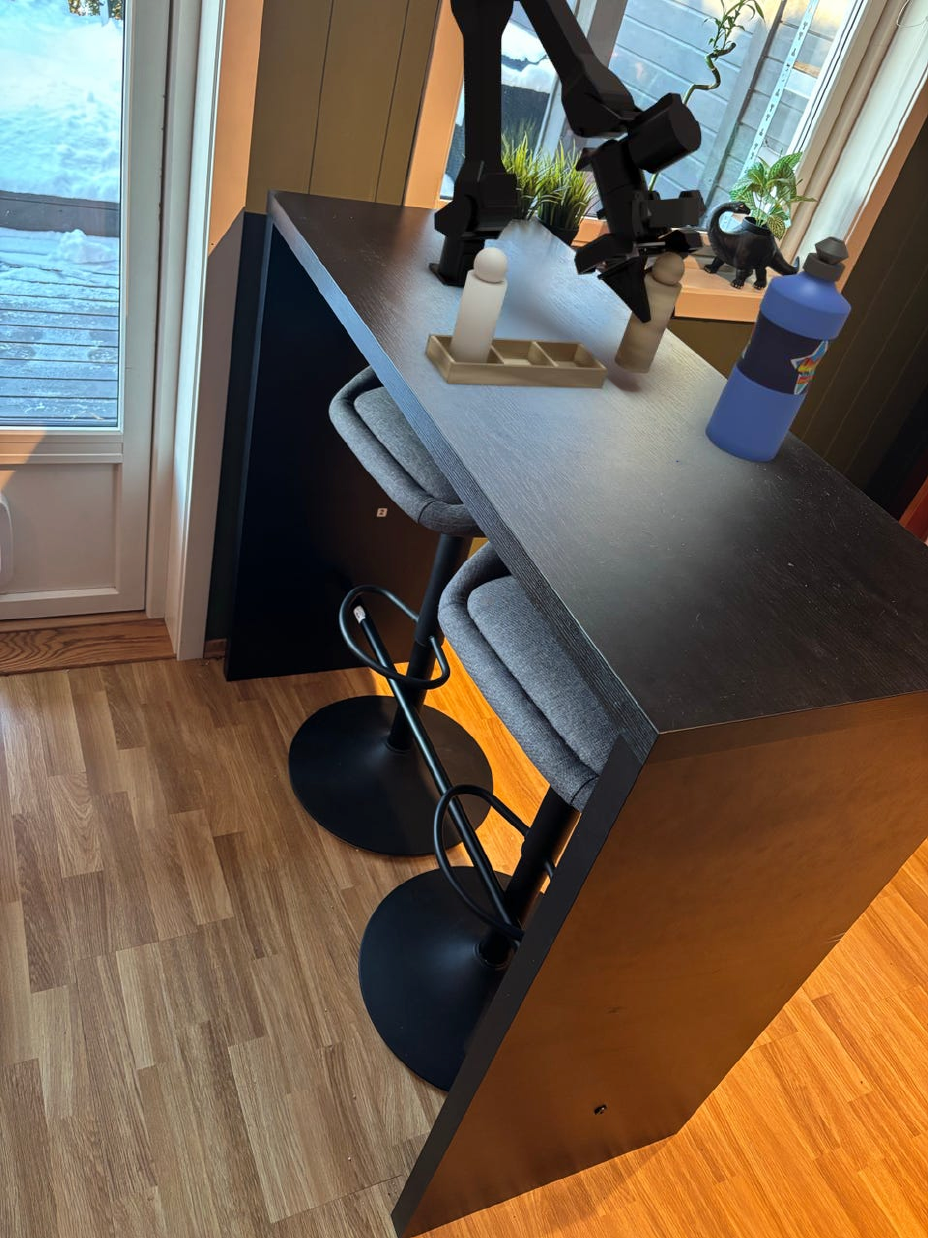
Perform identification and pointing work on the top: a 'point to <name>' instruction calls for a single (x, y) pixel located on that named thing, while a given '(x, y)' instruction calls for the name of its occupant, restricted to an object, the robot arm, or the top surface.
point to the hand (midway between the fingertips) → (659, 320)
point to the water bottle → (781, 356)
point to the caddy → (521, 364)
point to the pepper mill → (652, 315)
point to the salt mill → (480, 307)
